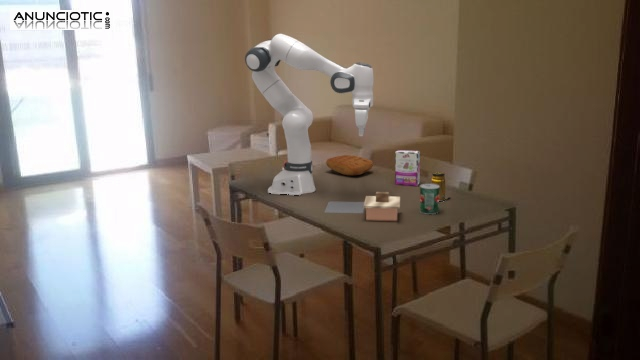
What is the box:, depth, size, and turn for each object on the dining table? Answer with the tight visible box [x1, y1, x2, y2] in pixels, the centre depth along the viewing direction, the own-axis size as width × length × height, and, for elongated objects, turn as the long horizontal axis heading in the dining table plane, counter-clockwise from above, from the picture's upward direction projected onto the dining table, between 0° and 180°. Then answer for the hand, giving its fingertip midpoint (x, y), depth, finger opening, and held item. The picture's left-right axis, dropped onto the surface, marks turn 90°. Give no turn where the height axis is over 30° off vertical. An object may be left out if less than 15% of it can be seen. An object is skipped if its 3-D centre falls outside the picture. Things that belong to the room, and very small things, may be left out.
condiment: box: [430, 171, 446, 201], centre depth 264 cm, size 7×8×12 cm
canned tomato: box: [419, 183, 440, 215], centre depth 247 cm, size 8×8×11 cm
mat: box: [324, 201, 365, 214], centre depth 255 cm, size 16×16×1 cm
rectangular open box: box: [365, 208, 398, 222], centre depth 242 cm, size 12×12×6 cm
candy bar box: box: [394, 149, 421, 187], centre depth 289 cm, size 11×5×16 cm, turn 68°
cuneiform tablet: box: [325, 154, 374, 176], centre depth 315 cm, size 22×17×8 cm
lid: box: [363, 191, 401, 210], centre depth 241 cm, size 14×14×4 cm
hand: (362, 134), depth 258 cm, fingers open, 8 cm apart
